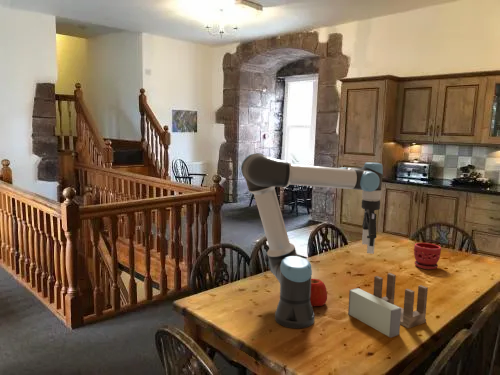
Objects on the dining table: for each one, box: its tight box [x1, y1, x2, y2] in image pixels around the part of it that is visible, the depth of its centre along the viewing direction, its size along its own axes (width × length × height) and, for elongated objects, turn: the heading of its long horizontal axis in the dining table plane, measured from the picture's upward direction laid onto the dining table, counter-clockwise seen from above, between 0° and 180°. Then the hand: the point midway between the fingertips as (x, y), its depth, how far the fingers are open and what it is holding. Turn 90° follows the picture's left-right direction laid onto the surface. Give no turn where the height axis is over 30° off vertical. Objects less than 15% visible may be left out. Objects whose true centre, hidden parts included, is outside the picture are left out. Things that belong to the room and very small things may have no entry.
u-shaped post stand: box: [372, 272, 429, 329], centre depth 160 cm, size 10×18×14 cm, turn 30°
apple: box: [310, 278, 328, 307], centre depth 171 cm, size 11×11×11 cm
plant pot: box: [413, 242, 442, 270], centre depth 219 cm, size 13×13×12 cm
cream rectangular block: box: [347, 287, 402, 338], centre depth 154 cm, size 4×21×10 cm, turn 30°
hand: (367, 248), depth 174 cm, fingers open, 13 cm apart
